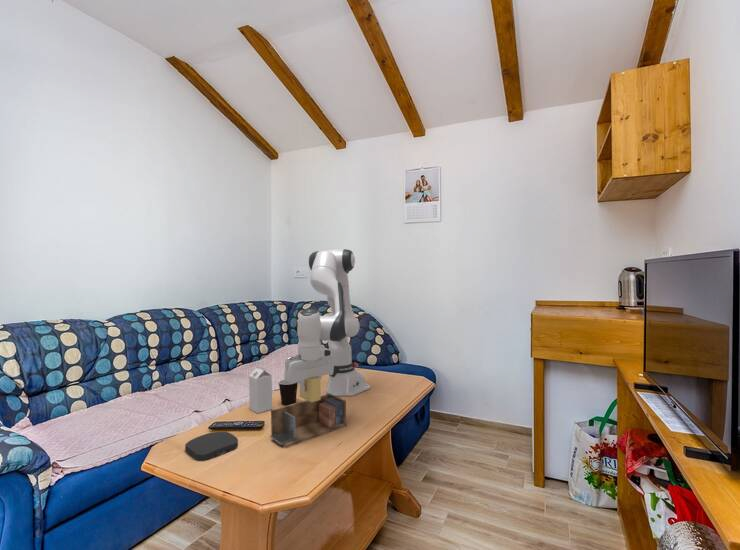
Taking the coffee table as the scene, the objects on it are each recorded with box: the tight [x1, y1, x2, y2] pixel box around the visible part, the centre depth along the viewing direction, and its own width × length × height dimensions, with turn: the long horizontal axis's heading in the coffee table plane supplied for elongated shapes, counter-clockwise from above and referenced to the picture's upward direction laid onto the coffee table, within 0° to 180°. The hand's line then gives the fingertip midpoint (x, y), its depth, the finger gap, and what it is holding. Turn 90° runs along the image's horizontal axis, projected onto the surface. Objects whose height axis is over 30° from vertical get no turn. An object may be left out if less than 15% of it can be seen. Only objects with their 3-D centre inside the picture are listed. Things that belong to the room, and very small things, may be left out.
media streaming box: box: [184, 431, 239, 462], centre depth 129 cm, size 15×15×3 cm
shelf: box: [270, 393, 347, 449], centre depth 141 cm, size 26×11×10 cm, turn 131°
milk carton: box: [248, 365, 273, 414], centre depth 164 cm, size 7×7×19 cm
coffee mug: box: [278, 379, 299, 407], centre depth 172 cm, size 12×9×10 cm
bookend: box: [269, 411, 296, 446], centre depth 133 cm, size 6×8×8 cm
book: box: [299, 377, 322, 402], centre depth 140 cm, size 4×8×8 cm, turn 43°
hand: (310, 389), depth 140 cm, fingers closed on book, 4 cm apart
